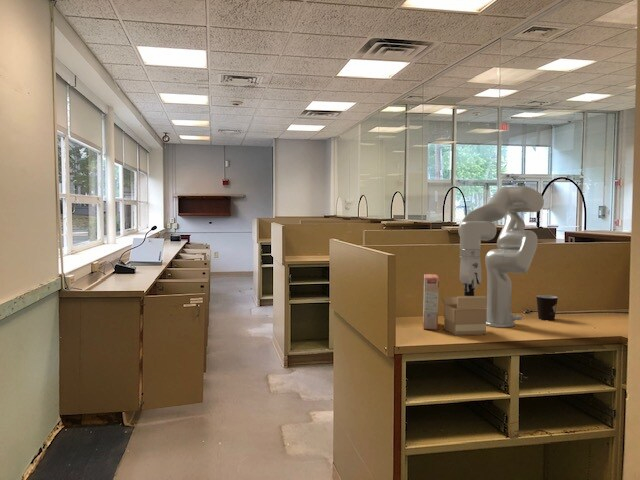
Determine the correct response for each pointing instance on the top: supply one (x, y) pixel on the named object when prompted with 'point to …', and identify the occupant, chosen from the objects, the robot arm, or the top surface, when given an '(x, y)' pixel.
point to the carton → (464, 320)
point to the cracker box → (430, 301)
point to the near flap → (471, 302)
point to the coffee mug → (546, 307)
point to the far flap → (449, 300)
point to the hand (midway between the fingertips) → (469, 301)
